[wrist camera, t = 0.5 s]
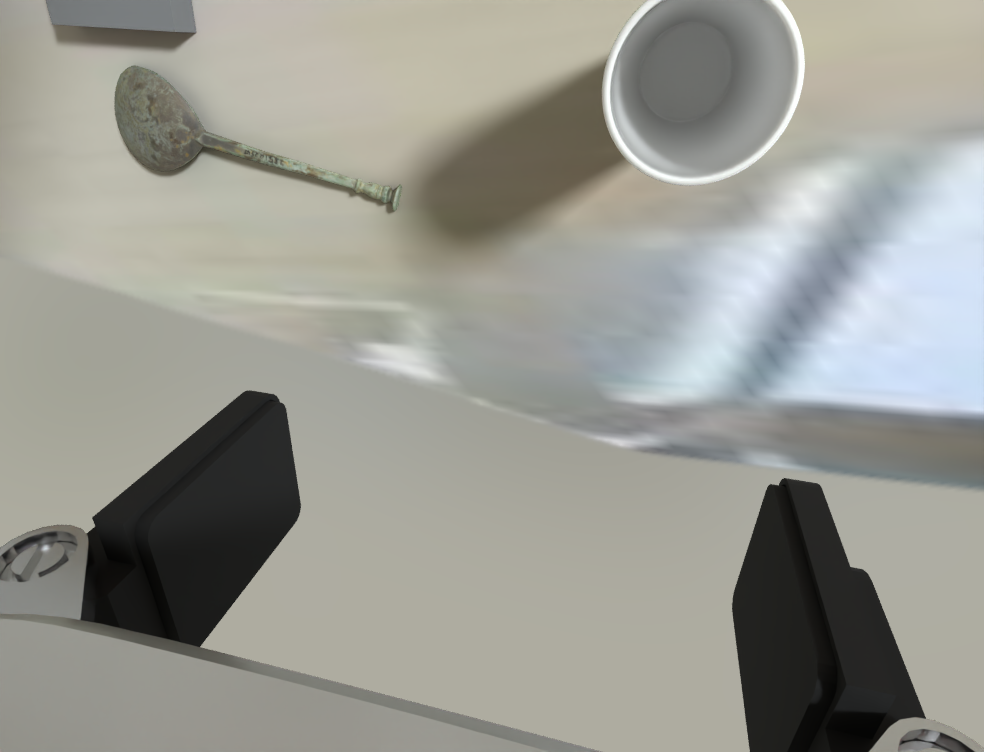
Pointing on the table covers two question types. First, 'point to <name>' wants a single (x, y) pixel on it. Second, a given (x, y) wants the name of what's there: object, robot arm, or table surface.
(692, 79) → the drinking glass
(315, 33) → the table surface
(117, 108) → the soupspoon
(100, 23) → the fader console
